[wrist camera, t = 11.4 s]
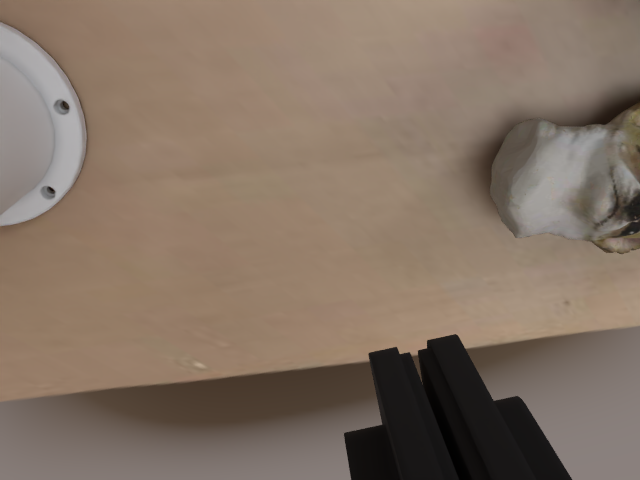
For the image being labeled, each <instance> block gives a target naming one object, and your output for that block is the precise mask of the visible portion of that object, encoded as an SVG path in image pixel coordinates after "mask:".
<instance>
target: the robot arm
mask: <svg viewBox="0 0 640 480" xmlns="http://www.w3.org/2000/svg"><path fill="white" fill-rule="evenodd" d="M63 101H66V102H67V103H68V105H69V109H66V108H64V106H63ZM86 140H87V134H86V126H85V119H84V114H83V111H82V108H81V105H80V102H79V99H78V96H77V94H76V92H75V91H74V89H73V87H72V85H71V83H70V81H69V79H68V77H67V76H66V75H65V73H64V72H63V71H62V70H61V68H60V67H59V66H58V64H57V63H56V62H55V60H54V59H53V58H52V57H51V56H50V55H49V54H48V53H46V52H45V51H44V50H43V49H42V48H41V47H40V46H39V45H38V44H37V43H36V42H34V41H33V40H31V39H30V38H28V37H27V36H26V35H24V34H23V33H21V32H20V31H18V30H17V29H15V28H13V27H11V26H8V25H6V24H4V23H2V22H0V226H5V225H13V224H18V223H21V222H24V221H27V220H30V219H34V218H35V217H37V216H39V215H41V214H42V213H44V212H46V211H48V210H49V209H51V208H52V207H53V206H54V205H55V204H56V203H58V202H59V201H60V200H61V199H62V198H63V197H64V196H65V194H66V193H67V192H68V191H69V190H70V189H71V188H72V186H73V184H74V183H75V181H76V179H77V177H78V175H79V174H80V172H81V168H82V165H83V161H84V158H85V154H86ZM49 187H51V188H53V189H54V191H55V192H53V191H51V190H50V188H49ZM418 357H419V363H420V370H421V376H422V382H423V385H422V382H421V380H420V377H419V375H418V372H417V369H416V367H415V364H414V361H413V359H412V356H411V354H410V352H408V353H404V354H399V351H398V349H397V347H394V348H389V349H385V350H380V351H375V352H371V353H369V359H370V364H371V369H372V375H373V380H374V385H375V390H376V394H377V399H378V405H379V409H380V415H381V419H382V425H379V426H375V427H370V428H365V429H361V430H356V431H351V432H346V433H344V437H345V444H346V450H347V456H348V462H349V468H350V474H351V480H572V479H571V477H570V475H569V474H568V472H567V471H566V469H565V468H564V466H563V464H562V463H561V461H560V459H559V458H558V456H557V455H556V453H555V451H554V450H553V448H552V446H551V445H550V443H549V441H548V440H547V438H546V437H545V435H544V433H543V432H542V430H541V429H540V427H539V425H538V424H537V422H536V420H535V419H534V418H533V416H532V414H531V412H530V411H529V409H528V408H527V406H526V404H525V403H524V402H523V400H522V399H521V398H520V397H518V396H515V397H510V398H506V399H501V400H496V401H493V399H492V397H491V395H490V393H489V392H488V390H487V388H486V386H485V384H484V382H483V381H482V379H481V377H480V375H479V373H478V372H477V370H476V368H475V366H474V364H473V362H472V361H471V359H470V357H469V355H468V353H467V351H466V349H465V348H464V346H463V344H462V342H461V340H460V338H459V337H458V335H456V334H455V335H450V336H445V337H441V338H436V339H431V340H428V341H427V349H422V350H418Z"/></svg>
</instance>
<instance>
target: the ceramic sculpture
mask: <svg viewBox="0 0 640 480" xmlns="http://www.w3.org/2000/svg"><path fill="white" fill-rule="evenodd" d="M491 176H492V182H491V186H490V195H491V197H492V199H493V201H494V202H495V204H496V205H497V209H498V213H499V215H500V217H501V220H502V222H503V223H504V224H505V225H506V226H507V227H508V228H509V230H510V231H511V232H512V233H513V234H514V236H515V237H516V238H522V237H529V236H532V235H535V234H542V233H547V232H549V233H551V234H554V235H558V236H563V237H565V238H567V239H576V240H585V241H592V242H593V243H594V244H595V245H596V246H597V247H599V248H600V249H602V250H603V251H604V252H606V253H613V252H617V253H619V254H624V253H628V252H630V250H636V249H639V248H640V102H639V103H637V104H635V105H633V106H632V107H630V108H628V109H627V110H625V111H623V112H622V113H620V114H619V115H617V116H616V117H615V118H614V119H613V120H612V121H611V122H609V123H608V124H606V125H601V124H593V125H587V126H584V127H568V126H557V125H555V124H554V123H551V122H548V121H547V120H545V119H539V118H537V119H530V120H526V121H524V122H521V123H519V124H517V125H515V126H514V128H513V129H512V130H511V131H510V132H509V133H508V134H507V136H506V138H505V140H504V142H503V144H502V146H501V148H500V150H499V152H498V154H497V155H496V157H495V160H494V162H493V164H492V171H491Z"/></svg>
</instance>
